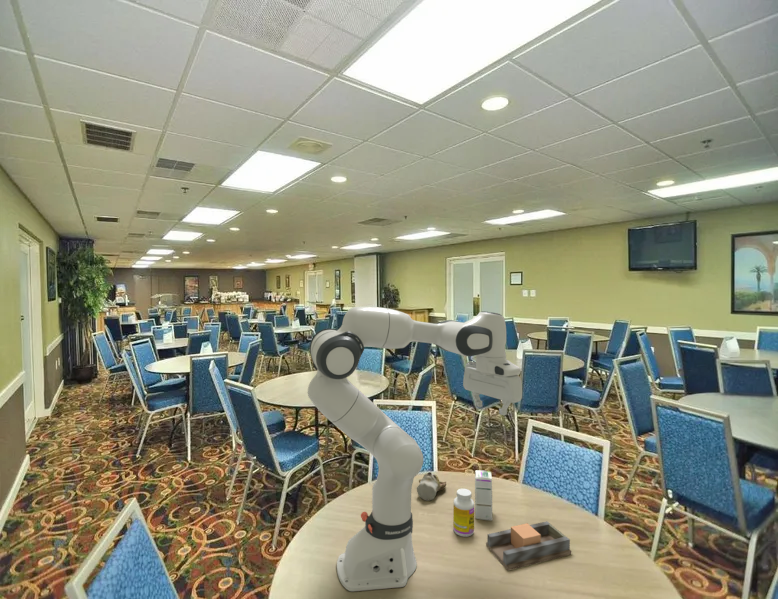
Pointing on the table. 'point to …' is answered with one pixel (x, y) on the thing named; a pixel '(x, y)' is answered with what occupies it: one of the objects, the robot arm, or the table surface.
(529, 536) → the peach block
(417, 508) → the table surface
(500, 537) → the chute
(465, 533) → the supplement bottle
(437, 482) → the ceramic sculpture
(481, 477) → the syrup box
